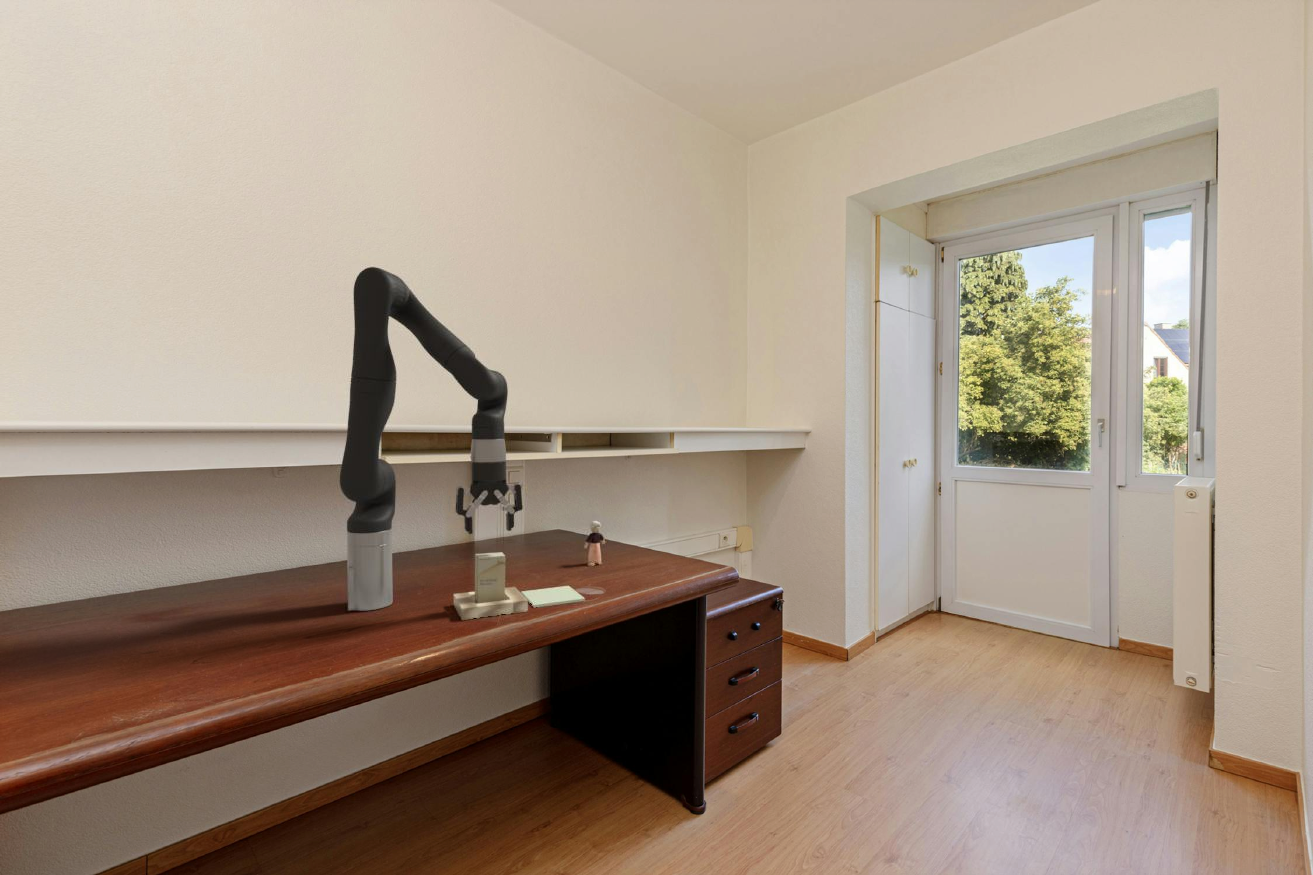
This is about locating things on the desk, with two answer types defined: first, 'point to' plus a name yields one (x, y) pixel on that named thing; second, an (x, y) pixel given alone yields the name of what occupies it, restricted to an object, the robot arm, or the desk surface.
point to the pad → (552, 596)
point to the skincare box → (489, 577)
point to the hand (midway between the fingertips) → (489, 531)
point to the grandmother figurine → (594, 544)
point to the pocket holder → (490, 605)
